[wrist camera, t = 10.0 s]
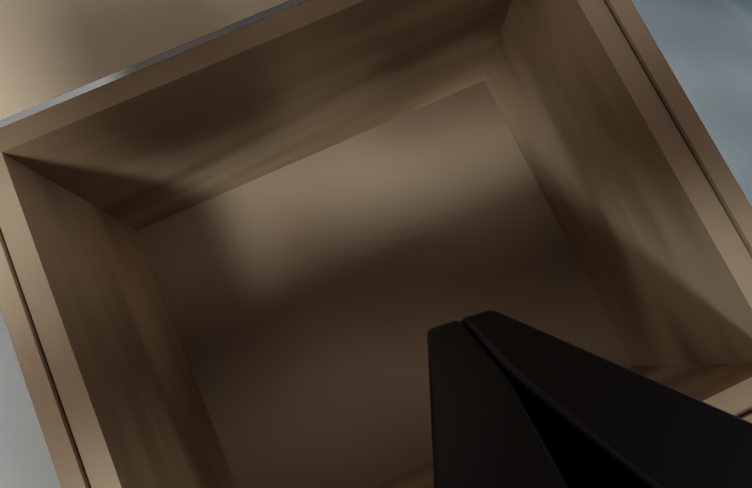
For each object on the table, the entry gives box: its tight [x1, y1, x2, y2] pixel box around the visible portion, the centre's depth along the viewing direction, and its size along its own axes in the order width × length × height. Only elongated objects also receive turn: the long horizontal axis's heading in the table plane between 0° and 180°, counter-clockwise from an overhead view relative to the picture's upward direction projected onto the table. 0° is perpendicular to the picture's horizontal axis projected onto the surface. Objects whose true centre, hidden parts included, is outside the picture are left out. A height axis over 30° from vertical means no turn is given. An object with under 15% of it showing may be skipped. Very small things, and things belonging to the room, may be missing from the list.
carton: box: [0, 0, 752, 488], centre depth 17 cm, size 11×14×8 cm
